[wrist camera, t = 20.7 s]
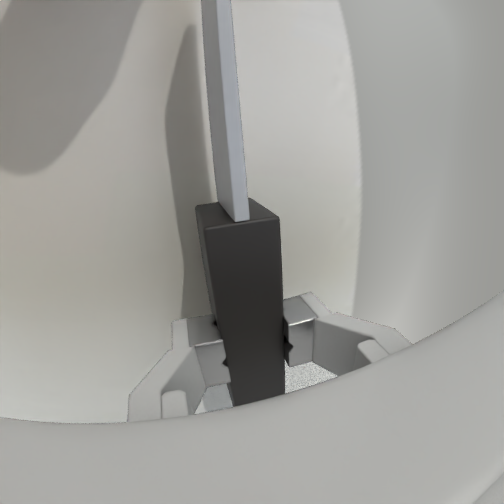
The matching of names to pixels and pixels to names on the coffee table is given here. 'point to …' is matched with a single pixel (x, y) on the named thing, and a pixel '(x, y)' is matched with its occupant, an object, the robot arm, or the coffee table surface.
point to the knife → (239, 233)
